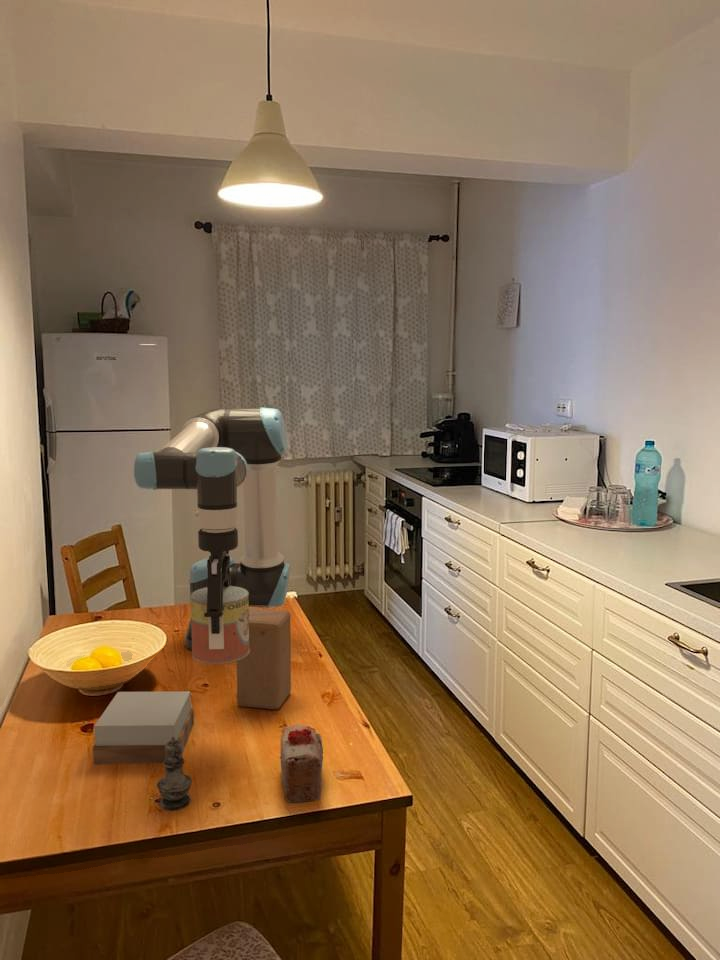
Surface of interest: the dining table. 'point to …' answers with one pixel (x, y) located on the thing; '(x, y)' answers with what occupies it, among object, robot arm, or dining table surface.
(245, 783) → the dining table surface
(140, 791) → the dining table surface
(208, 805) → the dining table surface
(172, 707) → the grey block
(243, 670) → the wooden block
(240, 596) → the canned food
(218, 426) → the robot arm
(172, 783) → the dark chess piece
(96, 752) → the walnut block
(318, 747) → the food item
